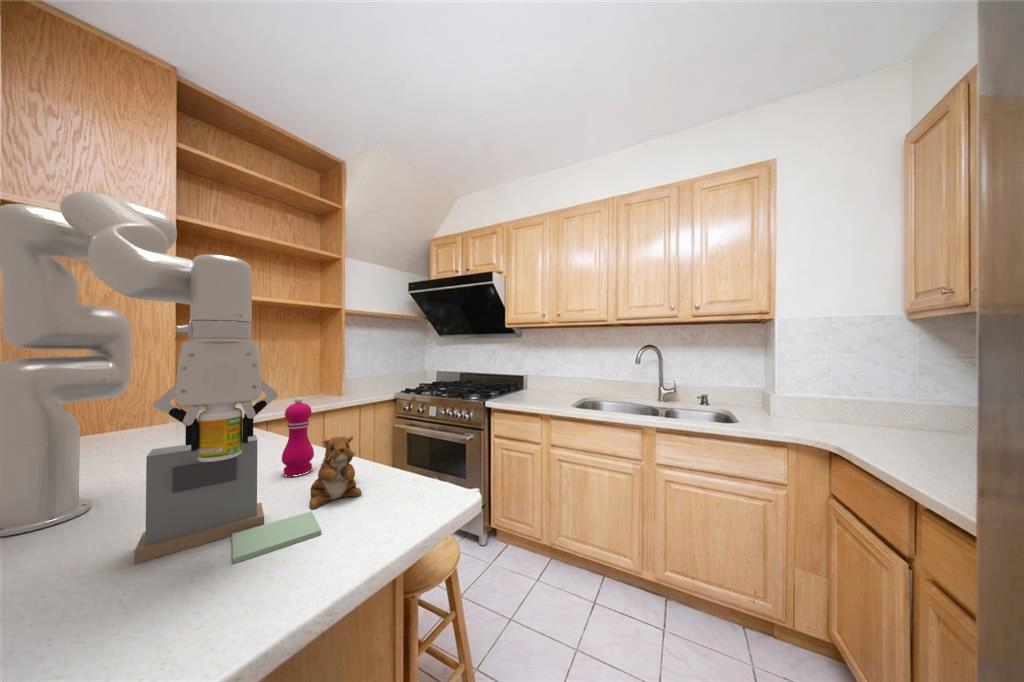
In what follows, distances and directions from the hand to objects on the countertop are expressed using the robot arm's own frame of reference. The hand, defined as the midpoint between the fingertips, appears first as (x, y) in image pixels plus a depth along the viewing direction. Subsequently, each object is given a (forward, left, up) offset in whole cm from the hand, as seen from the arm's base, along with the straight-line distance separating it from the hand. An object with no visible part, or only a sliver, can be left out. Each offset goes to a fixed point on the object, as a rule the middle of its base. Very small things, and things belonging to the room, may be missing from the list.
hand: (221, 444), depth 53 cm
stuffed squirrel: (+19, +13, -18) cm, 29 cm away
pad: (+7, 0, -18) cm, 19 cm away
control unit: (-2, +9, -18) cm, 20 cm away
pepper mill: (+15, +33, -18) cm, 40 cm away
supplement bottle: (0, 0, -2) cm, 2 cm away
